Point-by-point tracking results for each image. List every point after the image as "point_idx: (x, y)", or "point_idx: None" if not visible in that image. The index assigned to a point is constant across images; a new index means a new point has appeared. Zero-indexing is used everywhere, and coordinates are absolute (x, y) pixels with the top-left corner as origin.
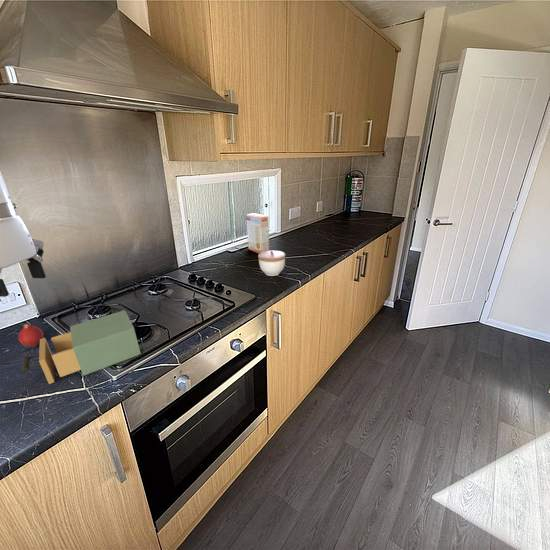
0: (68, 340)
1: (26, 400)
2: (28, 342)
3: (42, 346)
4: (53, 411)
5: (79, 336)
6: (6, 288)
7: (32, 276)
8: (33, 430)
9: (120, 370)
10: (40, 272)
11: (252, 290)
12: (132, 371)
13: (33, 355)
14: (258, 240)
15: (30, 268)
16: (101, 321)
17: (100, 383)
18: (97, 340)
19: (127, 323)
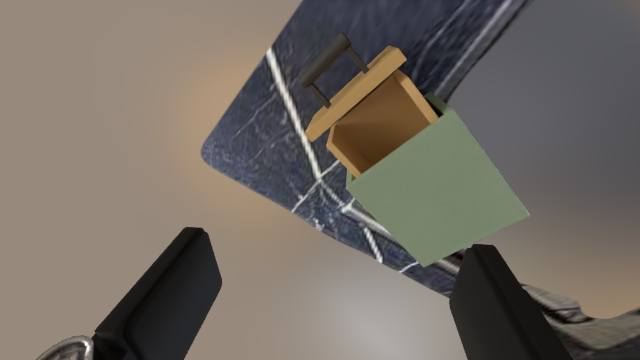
0: (418, 107)
1: (279, 94)
2: None
3: (360, 92)
4: (269, 160)
5: (393, 175)
6: (203, 319)
7: (470, 257)
8: (235, 157)
9: (364, 208)
10: (464, 341)
11: (636, 345)
12: (362, 226)
13: (353, 55)
14: None
15: (503, 328)
16: (469, 187)
17: (332, 194)
18: (377, 220)
19: (446, 249)
